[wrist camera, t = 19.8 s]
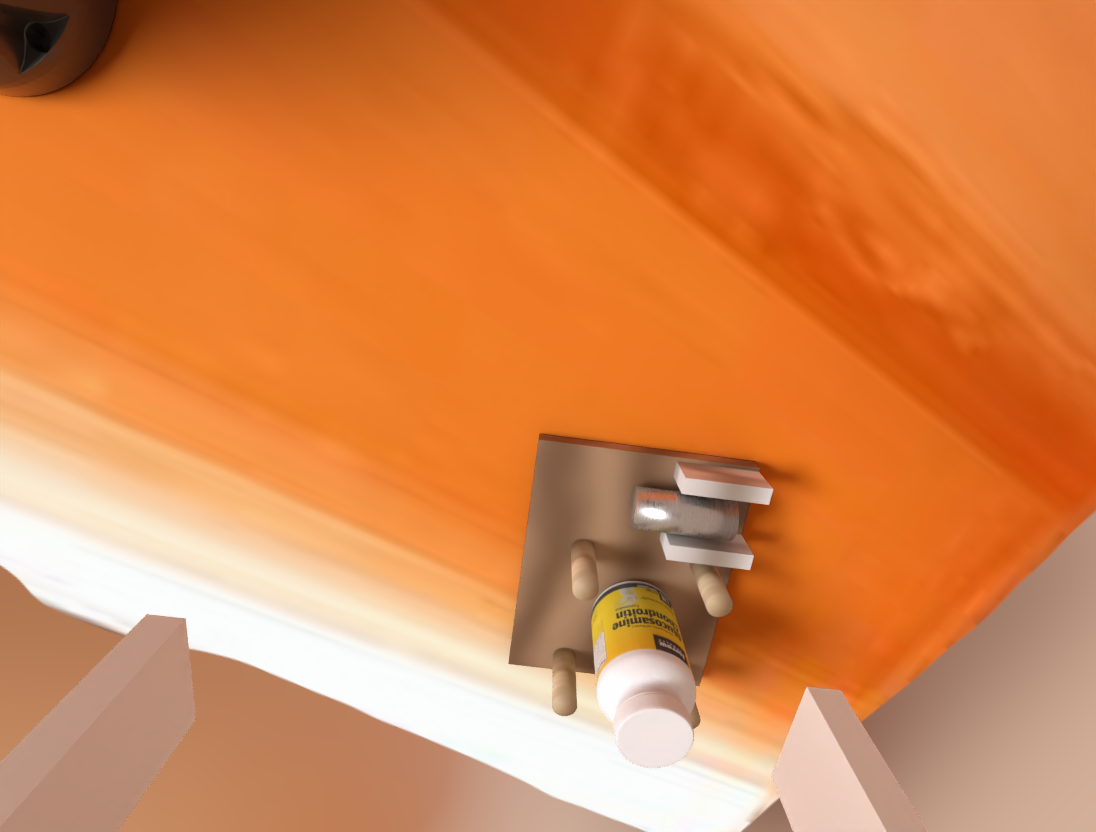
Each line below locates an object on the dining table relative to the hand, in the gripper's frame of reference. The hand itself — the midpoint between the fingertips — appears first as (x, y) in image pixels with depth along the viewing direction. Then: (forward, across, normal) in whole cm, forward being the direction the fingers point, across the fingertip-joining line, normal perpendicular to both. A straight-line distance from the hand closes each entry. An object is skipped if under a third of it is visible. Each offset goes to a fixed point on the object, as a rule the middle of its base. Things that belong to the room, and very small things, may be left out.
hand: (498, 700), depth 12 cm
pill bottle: (+27, +10, -18) cm, 34 cm away
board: (+28, +9, -15) cm, 33 cm away
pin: (+27, +12, -8) cm, 30 cm away
